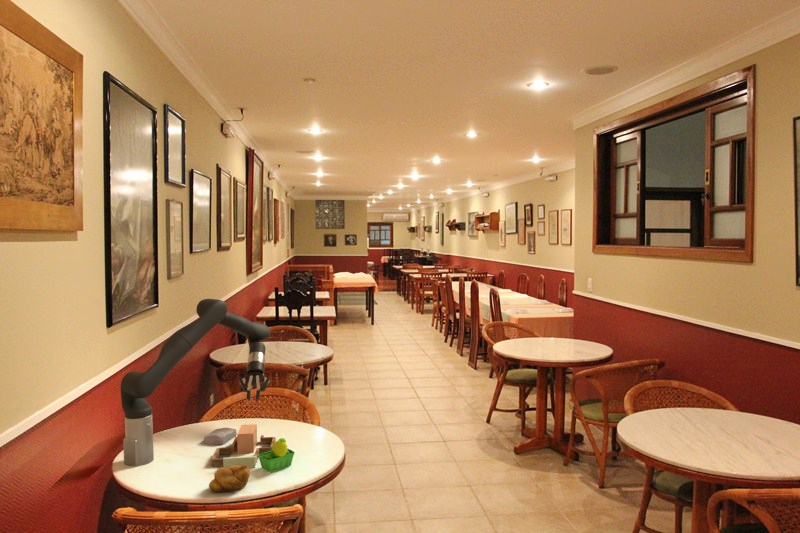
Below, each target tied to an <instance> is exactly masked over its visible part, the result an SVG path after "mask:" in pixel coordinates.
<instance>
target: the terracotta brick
mask: <svg viewBox="0 0 800 533" xmlns="http://www.w3.org/2000/svg"><path fill="white" fill-rule="evenodd" d="M236 437H237V454H245V453H246V454H248V453H247V452H251V453H255V451H256V448H257V445H258V425H257V423H252V424H249V423H248V424H241V425H240V427H239V429H238V432H237V434H236Z"/></svg>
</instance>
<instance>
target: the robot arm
mask: <svg viewBox="0 0 800 533" xmlns="http://www.w3.org/2000/svg"><path fill="white" fill-rule="evenodd" d="M195 311H196V314H197V316H198V317H199V318H197V319H196V320H194V321H193V322H191V323H189V324H187V325H185V326H183V327H180V329H178V330H176V331H175V332H174V333H173V334H171V335H170V337H169V338H168V339H166V340H165V341H164V343H163V344H162V346H161V348H160V352H159V354H158V357H157V359H156V360H155V362H154V363H153V364H151V366H150V367H148V369H147V370H145V371H136V370H133V371H129V372H127V373H126V374H125V375H124V376H123V377H122V379H121V383H120V399H121V401H120V402H121V408H122V410H123V414H124V427H125V428H124V432H125V436H124V438H123V439H122V440H123V442H122V445H123V447H122V448H123V464H124V465H126V464H127V466H132V467H138V466H143V465H146V464H150V463H151V462H152V461H154V428H153V427H154V426H153V407H152V405H151V404H150V403H149V402H148V401H147V399H146V398H148V397H150V396H151V395H152V394H153V393H154V392H155V391H156V390H157V388H158V387H159V386H160V384H161V383H162V382H163V381H164V380H165V378H166V377H167V376H168V375H169V373H171V371H172V370H173V369H174V368H175V367H176V366H177V365H178V364H179V362H181V361H182V359H183V358H184V357H185V356H187V355H188V354H189V353H190V351H191V350H192V349H193V348H194V347H195V346H196V345H197V343H198V342H200V341H201V340H202V339H203V337H205V335H206V334H208V333H209V332H210V331H211V330H212V329H213V328H215V327H216V326H217V325H221V326H224V327H226V328H228V329H230V330H231V331H234V332H236V333H238V334H240V335H241V336H244V337H247V339H246V340H247V342H248V348H249V349H248V350H249V351H248V358H247V362H246V363H247V364H246V365H247V366H246V372H245V373H246V374H245V376H244V377H243V378H239V379H238V381H239V385H240V386H241V389H242V390H243V392H244V393H246V400H247V401H248V402H249V401H250V402H251V399H252V398H251V397H252V396H251V395H252V389H253V387H255V386H256V391H255V401H259V400H260V398H261V392H265V391H266V389H267V388H268V386H269V384H270V383H271V378H270V377H266V376H265V368H266V367H265V366H266V345H265V344H264V343H263V341H266V340H268V339H269V338H270V337H271V329H270V328H269V327H268V326H267V325H266V324H264V323H261V322H257V321H251V320H249V319H248V318H245V317H243V316H242V315H238V314H235V313H233V312H230V311H228V305H227V303H226V302H225V301H224V300H221V299H214V298H204V299H201V300H200V301H199V302H198V303H197V305H196V310H195ZM246 383H247V387H246V385H245V384H246ZM262 383H263V384H262ZM261 384H262V386H261Z"/></svg>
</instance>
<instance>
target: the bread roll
mask: <svg viewBox="0 0 800 533" xmlns="http://www.w3.org/2000/svg"><path fill="white" fill-rule="evenodd" d="M250 469H251V468H249V467H248V466H247V465H240V466H237V465H235V466H233V465H232V466H230V467H229V468H228V469H227V468H223V467H222V468H218V469H217V470H216V471H215V473H214V474H213V475H214V476H213V479H212V480H210V481H209V484H208V489H209V490H210V491H211V492H215V493H222V492H225V491H227V492H235V491H238V490H242V489H243V488H245V487H246V486H247V484H248V482H249V478H250V475H251V471H250Z"/></svg>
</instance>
